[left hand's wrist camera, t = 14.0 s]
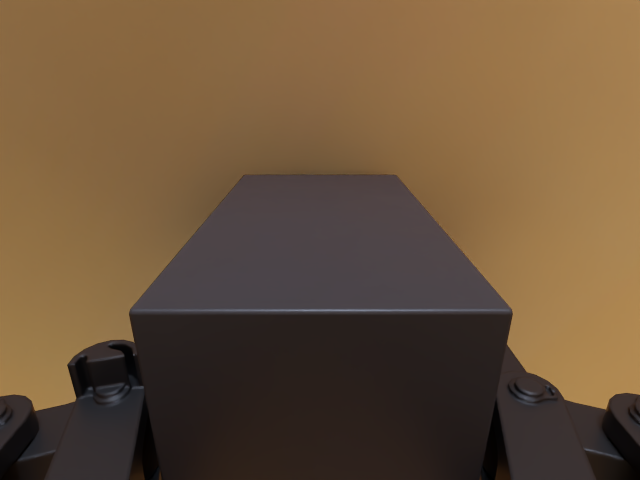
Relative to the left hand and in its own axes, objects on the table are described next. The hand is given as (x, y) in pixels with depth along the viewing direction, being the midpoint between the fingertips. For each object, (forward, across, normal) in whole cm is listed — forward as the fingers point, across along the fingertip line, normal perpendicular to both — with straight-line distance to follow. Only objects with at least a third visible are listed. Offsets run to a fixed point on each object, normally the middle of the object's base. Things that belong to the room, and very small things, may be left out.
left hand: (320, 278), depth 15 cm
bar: (+1, 0, -14) cm, 14 cm away
